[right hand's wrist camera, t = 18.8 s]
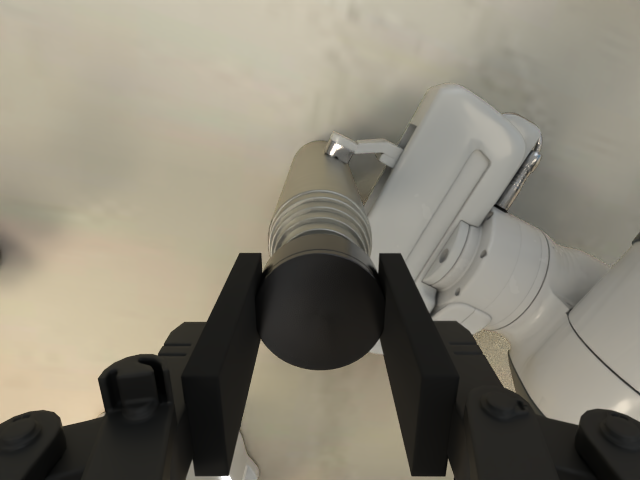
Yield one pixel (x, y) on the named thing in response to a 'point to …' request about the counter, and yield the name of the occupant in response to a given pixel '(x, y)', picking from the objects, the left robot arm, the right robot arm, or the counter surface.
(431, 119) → the left robot arm
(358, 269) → the cap
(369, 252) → the bottle
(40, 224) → the counter surface
